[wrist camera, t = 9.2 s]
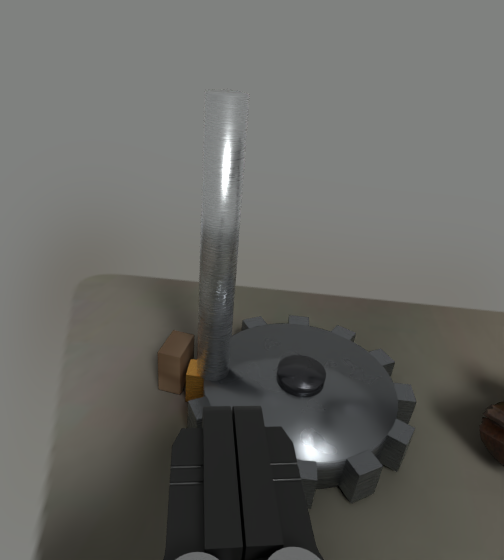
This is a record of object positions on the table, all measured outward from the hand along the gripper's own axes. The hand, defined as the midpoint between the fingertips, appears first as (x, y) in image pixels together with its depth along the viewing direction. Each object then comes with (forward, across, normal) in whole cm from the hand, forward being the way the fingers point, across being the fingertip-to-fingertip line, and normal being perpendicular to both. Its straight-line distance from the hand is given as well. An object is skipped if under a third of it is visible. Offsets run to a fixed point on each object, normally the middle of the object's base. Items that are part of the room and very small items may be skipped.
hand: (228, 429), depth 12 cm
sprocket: (+8, -4, +8) cm, 12 cm away
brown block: (+11, +2, +8) cm, 13 cm away
